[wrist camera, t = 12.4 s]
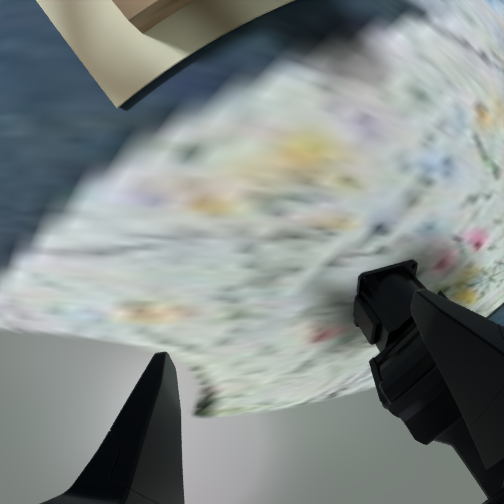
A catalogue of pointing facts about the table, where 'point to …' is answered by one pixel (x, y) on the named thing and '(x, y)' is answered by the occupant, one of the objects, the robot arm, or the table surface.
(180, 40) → the socket
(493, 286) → the table surface
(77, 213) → the table surface
